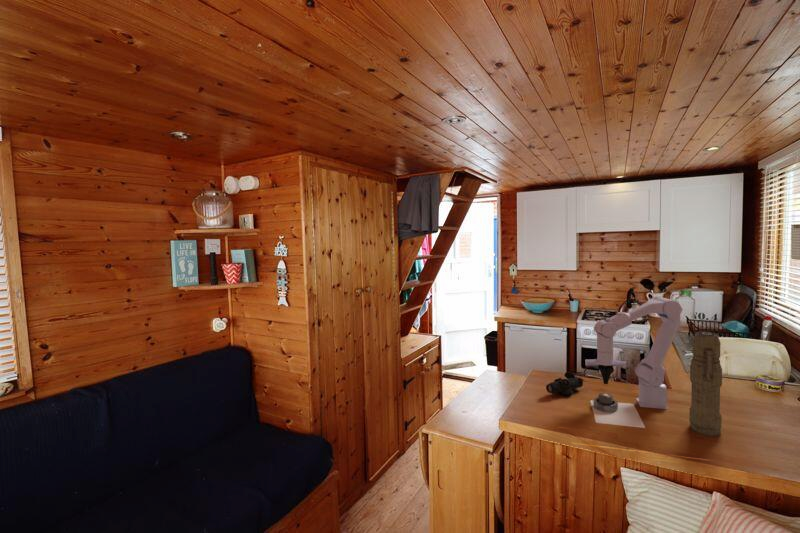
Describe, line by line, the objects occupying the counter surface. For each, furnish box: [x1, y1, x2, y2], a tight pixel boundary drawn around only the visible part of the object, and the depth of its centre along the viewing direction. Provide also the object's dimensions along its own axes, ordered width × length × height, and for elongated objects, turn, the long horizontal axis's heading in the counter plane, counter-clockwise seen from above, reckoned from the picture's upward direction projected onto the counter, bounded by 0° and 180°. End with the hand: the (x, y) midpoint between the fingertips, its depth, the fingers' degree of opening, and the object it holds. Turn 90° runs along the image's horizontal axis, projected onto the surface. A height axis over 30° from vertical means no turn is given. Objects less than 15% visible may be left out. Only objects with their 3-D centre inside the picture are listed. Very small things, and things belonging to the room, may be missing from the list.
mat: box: [589, 399, 646, 429], centre depth 152 cm, size 16×20×1 cm
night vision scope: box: [545, 371, 585, 398], centre depth 173 cm, size 8×18×10 cm
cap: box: [598, 392, 614, 405], centre depth 156 cm, size 5×5×5 cm
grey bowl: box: [592, 396, 619, 413], centre depth 157 cm, size 8×8×3 cm
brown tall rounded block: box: [688, 330, 723, 438], centre depth 136 cm, size 9×12×35 cm
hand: (605, 383), depth 158 cm, fingers closed
